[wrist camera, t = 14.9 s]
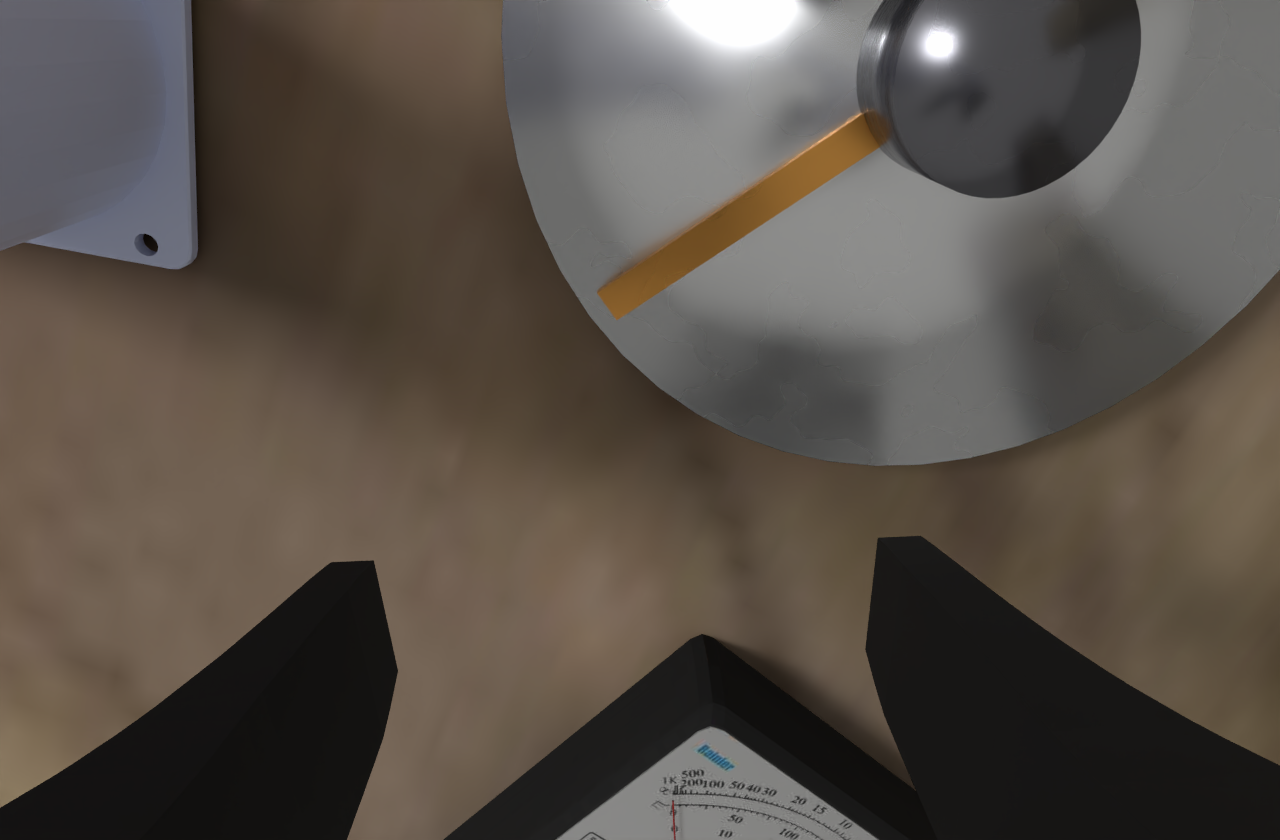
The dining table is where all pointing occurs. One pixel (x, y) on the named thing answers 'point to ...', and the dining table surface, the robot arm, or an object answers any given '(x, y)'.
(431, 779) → the dining table surface
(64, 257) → the dining table surface
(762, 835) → the multimeter
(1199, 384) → the dining table surface
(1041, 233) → the collar wheel
